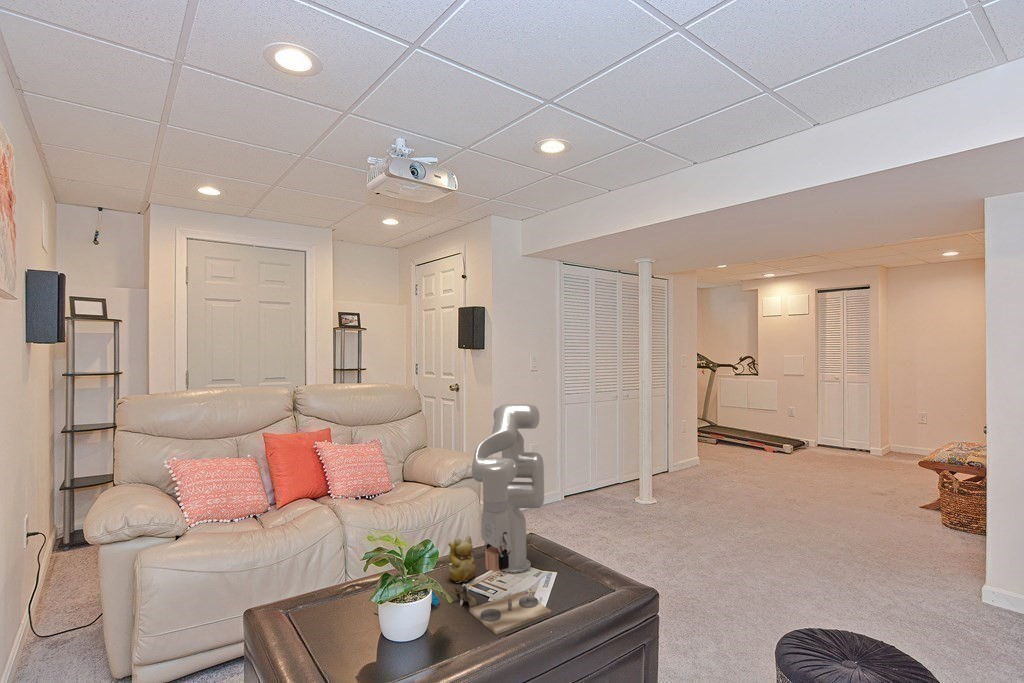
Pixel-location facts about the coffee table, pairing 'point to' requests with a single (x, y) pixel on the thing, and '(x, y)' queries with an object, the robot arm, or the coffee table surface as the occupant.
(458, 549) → the decorative figurine
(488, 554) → the gear wheel
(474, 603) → the eagle figurine
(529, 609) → the board
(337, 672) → the coffee table surface
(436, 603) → the gear
